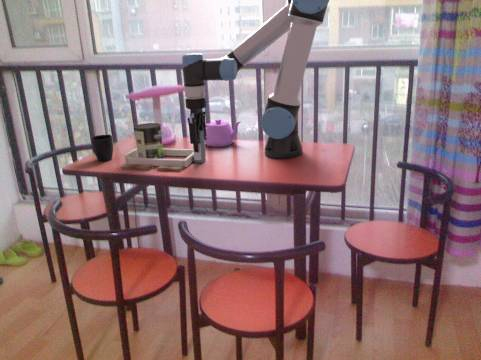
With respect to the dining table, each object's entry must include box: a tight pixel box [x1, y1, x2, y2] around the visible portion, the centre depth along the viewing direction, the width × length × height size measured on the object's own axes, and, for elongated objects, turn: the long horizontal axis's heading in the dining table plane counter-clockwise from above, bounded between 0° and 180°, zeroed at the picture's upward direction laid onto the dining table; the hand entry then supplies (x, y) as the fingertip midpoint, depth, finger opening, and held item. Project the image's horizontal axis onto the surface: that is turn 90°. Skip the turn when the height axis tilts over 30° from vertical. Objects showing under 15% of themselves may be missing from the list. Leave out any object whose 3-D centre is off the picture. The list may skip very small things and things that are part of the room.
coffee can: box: [133, 122, 165, 159], centre depth 166 cm, size 10×10×14 cm
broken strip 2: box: [157, 165, 185, 172], centre depth 156 cm, size 9×3×1 cm, turn 75°
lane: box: [124, 130, 206, 168], centre depth 165 cm, size 30×15×12 cm, turn 75°
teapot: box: [205, 118, 242, 148], centre depth 186 cm, size 13×20×11 cm
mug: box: [90, 133, 114, 163], centre depth 172 cm, size 8×12×10 cm
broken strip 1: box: [122, 164, 154, 171], centre depth 159 cm, size 11×3×1 cm, turn 75°
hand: (200, 157), depth 163 cm, fingers closed on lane, 4 cm apart
